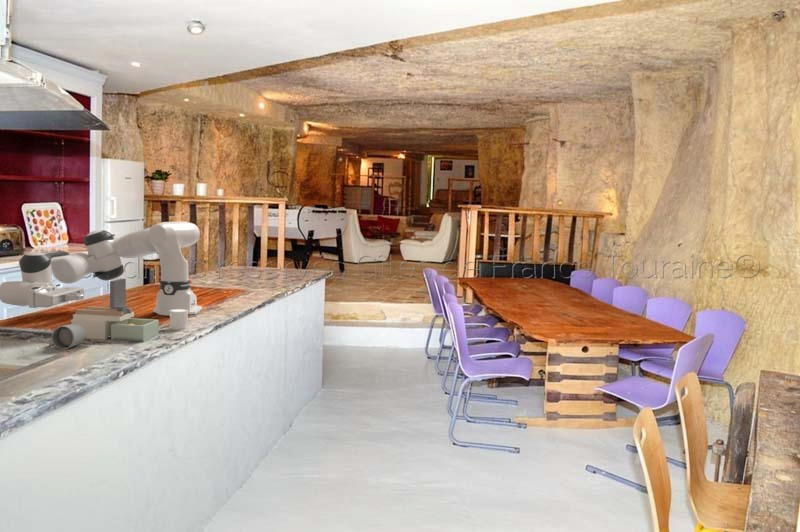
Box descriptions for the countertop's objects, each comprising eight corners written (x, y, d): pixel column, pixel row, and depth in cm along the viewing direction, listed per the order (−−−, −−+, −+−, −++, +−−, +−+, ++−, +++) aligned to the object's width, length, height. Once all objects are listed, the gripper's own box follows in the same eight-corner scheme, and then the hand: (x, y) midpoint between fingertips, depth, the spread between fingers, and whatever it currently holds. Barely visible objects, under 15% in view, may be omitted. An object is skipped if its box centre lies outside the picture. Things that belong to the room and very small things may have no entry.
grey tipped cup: (87, 344, 216) (87, 321, 216) (73, 350, 208) (73, 326, 207) (57, 343, 217) (56, 320, 216) (42, 348, 209) (41, 325, 208)
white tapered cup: (182, 330, 242) (182, 312, 242) (165, 329, 244) (165, 311, 243) (191, 327, 249) (191, 309, 248) (175, 325, 250) (175, 308, 250)
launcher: (90, 330, 237) (90, 305, 236) (135, 333, 235) (135, 307, 234) (71, 337, 225) (71, 310, 224) (118, 340, 223) (118, 313, 222)
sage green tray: (127, 332, 235) (127, 318, 235) (158, 334, 234) (158, 319, 234) (111, 339, 224) (111, 324, 223) (143, 341, 223) (143, 326, 222)
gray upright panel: (121, 311, 233) (121, 278, 231) (131, 311, 232) (131, 278, 231) (110, 315, 225) (109, 281, 223) (119, 316, 224) (119, 281, 223)
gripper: (62, 298, 240) (97, 301, 239) (26, 308, 220) (64, 311, 219) (61, 282, 239) (97, 284, 238) (25, 290, 219) (64, 292, 218)
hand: (81, 297), depth 228 cm, fingers closed
